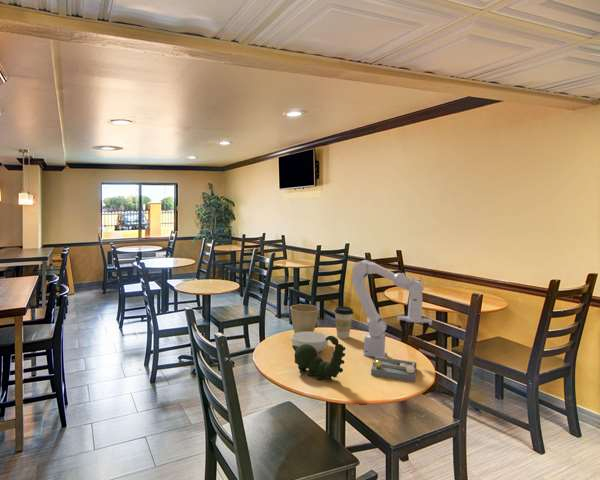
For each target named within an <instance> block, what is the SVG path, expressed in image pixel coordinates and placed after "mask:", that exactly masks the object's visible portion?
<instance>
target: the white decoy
mask: <svg viewBox="0 0 600 480" xmlns="http://www.w3.org/2000/svg"><path fill="white" fill-rule="evenodd" d="M406 371H407V372H408V373H413V372H414V367H413V366H412V365H408V366H407V367H406Z"/></svg>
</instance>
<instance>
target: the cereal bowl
mask: <svg viewBox="0 0 600 480" xmlns="http://www.w3.org/2000/svg"><path fill="white" fill-rule="evenodd" d="M328 336H329V335H326V334H325V333H322V332H318V331H314V332H309V331H307V332H298V333H295V332H294V333H293V334H292V335H291V344H292V345H295V346H301V345H303V344H309V345H311V346H313V347H314V348H315V349H316V351H317V353H319V352H321V351H323V350H325V349H326V347H327V346H328V343H329V342H328V341H329V340H325V339H326V337H328Z"/></svg>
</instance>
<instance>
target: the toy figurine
mask: <svg viewBox="0 0 600 480" xmlns="http://www.w3.org/2000/svg"><path fill="white" fill-rule="evenodd" d="M327 336H328V337H326V339H325V340H328V341H330V342H331V344H332V345H333V346H334V350H333V352H332V356H331V359H330V361H329V362H327V361H325V360H324V359H323V358H322V357H321V356H319V354H318V353H319V352H317V351H316V349H315V348H314V347H313V346H311V345H309V344H303V345H301V346H295V345H293V344H292V347H291V348H292V349H293V350H294V364H296V365H297V368H298V370H300V372H305V371H306V370H307V369H308V370H307V375H308V376H310V377H312V376H313V375H314V374H316V375H317V376H316V379H317V380H318V381H320V380H322V379H324V378H326V380H327V381H329V382H330V381H331V380H332V378H335V379H336V378H337V377H338V375H339V374H340V373H343V371H344V369H343V367H341V365H344V364H345V360H344V359H343V357H345V356H346V353H345V352H344V351H346V347H345V346H344V345H343V344H341V343H339V340H338V339H339V338H338V337H337V336H336V337H335V336H334V335H327Z"/></svg>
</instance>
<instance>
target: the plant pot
mask: <svg viewBox="0 0 600 480" xmlns="http://www.w3.org/2000/svg"><path fill="white" fill-rule="evenodd" d="M289 308H290V317H291V318H290V319H291V322H292V323H291V324H292V328H293V331H294V334H295V333H298V332H307V331H309V332H315V329H316V326H317V322H318V318H319V314H320V307H318V306H316V305H313V304H301V303H299V304H293V305H291V306H290V307H289Z"/></svg>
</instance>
